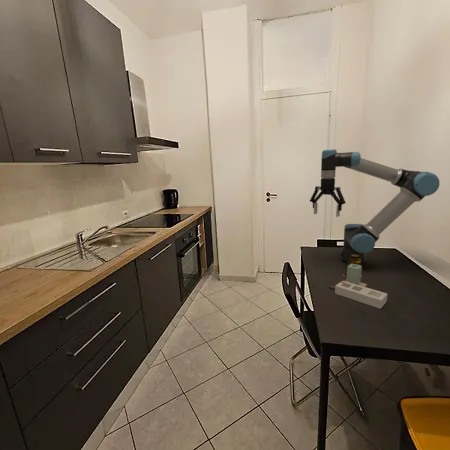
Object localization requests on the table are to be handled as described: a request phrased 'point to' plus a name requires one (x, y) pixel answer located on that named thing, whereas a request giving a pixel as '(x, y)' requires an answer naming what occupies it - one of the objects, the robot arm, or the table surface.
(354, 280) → the block
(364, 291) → the power strip
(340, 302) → the table surface
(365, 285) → the cork coaster
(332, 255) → the table surface
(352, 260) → the condiment
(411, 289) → the table surface
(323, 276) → the table surface
